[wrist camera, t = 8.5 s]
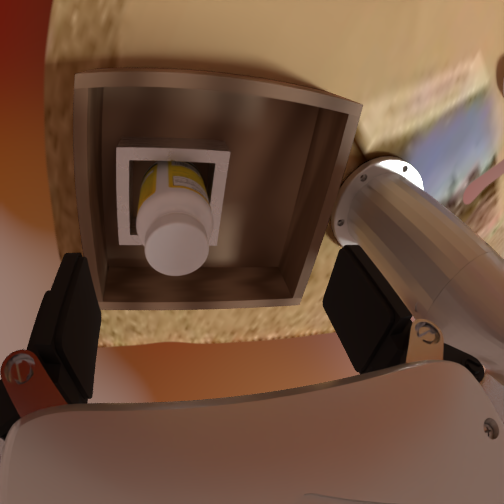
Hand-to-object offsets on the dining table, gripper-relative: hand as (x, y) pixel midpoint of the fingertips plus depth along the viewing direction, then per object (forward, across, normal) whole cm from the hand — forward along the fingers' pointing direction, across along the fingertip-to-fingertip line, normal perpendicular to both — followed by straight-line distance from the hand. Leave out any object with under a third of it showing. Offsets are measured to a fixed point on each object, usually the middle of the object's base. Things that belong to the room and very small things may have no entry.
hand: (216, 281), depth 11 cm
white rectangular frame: (+18, +2, +4) cm, 18 cm away
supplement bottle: (+17, +2, +4) cm, 18 cm away
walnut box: (+18, -1, +4) cm, 18 cm away
